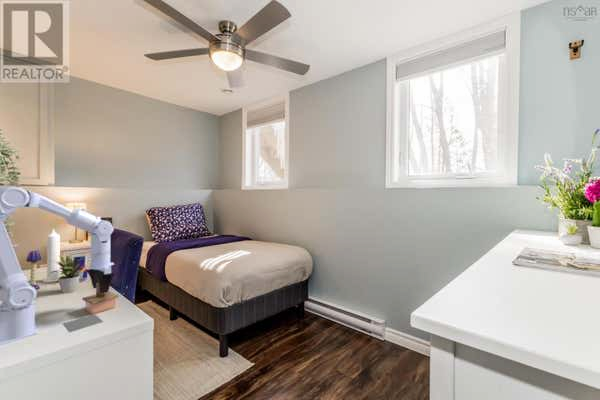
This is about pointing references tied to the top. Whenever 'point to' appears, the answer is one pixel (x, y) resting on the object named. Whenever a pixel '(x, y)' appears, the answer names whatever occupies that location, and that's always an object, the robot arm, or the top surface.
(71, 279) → the house plant
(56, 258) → the candle
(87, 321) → the mat
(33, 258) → the toy lamp
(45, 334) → the top surface
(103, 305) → the open box
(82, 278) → the energy drink
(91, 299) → the lid
